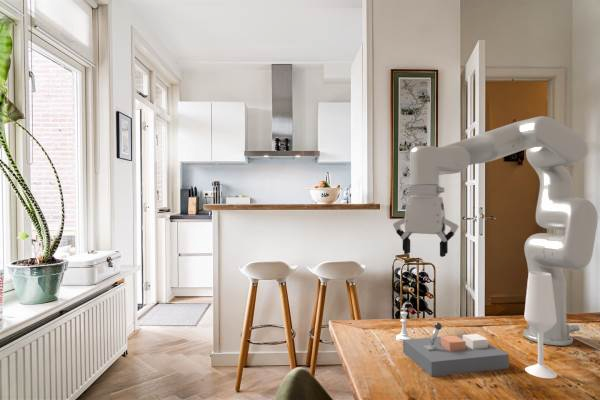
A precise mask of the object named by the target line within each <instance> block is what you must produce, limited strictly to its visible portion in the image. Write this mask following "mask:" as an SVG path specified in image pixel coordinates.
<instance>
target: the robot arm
mask: <svg viewBox="0 0 600 400" xmlns="http://www.w3.org/2000/svg"><path fill="white" fill-rule="evenodd" d="M525 150H526V151H525ZM521 151H525V155H526V159H527V161H528V163H529V165H531V167H532V168H533V170H534V171H535V172H536V174H537V176H538V178H539V191H538V198H537V203H536V209H535V222H536V224H537V225H538V226H540V227H541V228H543V229H548V230H557V231H564V234H560V233H550V232H548V233H547V232H543V233H542V232H539V233H535V234H532V235H529V237H528V238H527V239H526V240H525V243H524V246H523V247H524V248H523V250H524V256H525V259H526V265H527V272H528V273H529V272H545V273H550V274H551V276H552V285H553V293H554V301H555V310H556V318H557V322H556V324H555V325H554V326H553V327H552V328H551V329H550V330H548V331H547V332H544V333H543V345H550V346H569V345H572V344H573V342H574V338H573V337H572V335H570V334H571V333H572V332H573V333H574V332H579V331H580V330H581V329H580V326H579V325H578V324H571V325H570V324H568V323H567V281H566V277H565V274H564V272H563V270H562V269H567V270H573V271H581V270H583V269H585V268H587V267H588V265H589V264H590V263H591V260H592V257H593V252H594V248H595V241H596V236H597V235H596V234H597V228H598V223H599V222H598V219H599V216H598V212H597V208H596V206H595V205H594V203H593V202H591V200H588V199H586V198H582V197H573V193H574V180H573V178H572V176H571V174H570V172H569V171H568V169H567V168H566V166H575V165H577V164H580V163H583V161H584V160H585V159H586V158H587V156H588V154H589V146H588V143H587V141H586V140H585V138H584V137H583V136H581V134H579V133H578V132H576V131H574V130H573V129H571V128H570V127H568V126H566V125H565V124H563V123H562V122H559V121H558V120H556V119H553V118H551V117H548V116H546V115H545V116H543V115H540V116H535V117H531V118H527V119H523V120H519V121H514V122H512V123H510V124H506V125H503V126H500V127H497V128H493V129H491V130H488V131H485V132H482V133H479V134H477V135H476V134H475V135H473V136H470V137H468V138H466V139H465V138H464V139H462V140H459V141H456V142H454V143H449V144H447V145H444V146H437V147H436V146H432V145H421V146H415V147H412V148H411V149H410V151H409V197H407V198H406V199H407V200H406V205H405V210H404V211H405V213H404V217H403V218H401V219H400V220H398V221H396V222H394V223H393V225H392V226H393V227H394V230H395V232H396V234H397V235H398V236H399V237H400V239H401V240H402V251H403V253H404V255H408V254H410V253H411V239H410V236H411V235H413V234H423V235H424V234H426V235H437V236H438V237H439V239H440V240H441V241H440V242H439V257H441V258H443V257H446V254H448V253H449V252H448V251H449V249H448V246H449V245H448V243H449V242H448V241H450V239H452V238H453V237H454V236H455V234H456V232H457V230H458V228H459V224H457V223H455V222H454V221H451V220H449V219H447V218H446V213H445V212H446V211H445V205H444V199H443V197H442V196H440V194H442V193H445V187H442V186H440V176H442V175H452V174H458V173H461V172H464V171H466V170H467V168H468V167H469V166H470V165H477V164H478V165H479V164H483V163H484V164H485V163H489V162H492V161H493V162H494V161H496V160H498V159H502V158H504V157H507V156H510V155H513V154H515V153H518V152H521ZM402 225H404V230H402V228H401V226H402ZM446 226H448V227H450V230H449V232H448V233H446V232H445V231H446ZM522 333H523V336H524V337H525V338H526V339H528V340H530V341H532V342H536V343H538V332H537V331H535V330H534V329H533V328H532V327H531V326H530V325H529V324H528V328H525V329H523V332H522Z"/></svg>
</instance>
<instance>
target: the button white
mask: <svg viewBox="0 0 600 400" xmlns="http://www.w3.org/2000/svg"><path fill="white" fill-rule="evenodd" d="M462 335H463V340H464V341H466V346H468V347H470V348H472V349H479V348H488V343H489V339H488V338H486V337H484V336H483V335H480V334H479V333H468V335H465V334H462Z"/></svg>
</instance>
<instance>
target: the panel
mask: <svg viewBox="0 0 600 400" xmlns="http://www.w3.org/2000/svg"><path fill="white" fill-rule="evenodd" d="M468 334H469V333H468ZM468 334H456V335H453V336H457V337H459V338H461V339H462V340H463V335H468ZM441 337H445V335H444V336H437V337H436V340H435V342H434V345H433V346H430V345H429V341H430V339H431V337H420V338H412V339H407V340H403V342H402V349H403V350H402V352H403V354H405V356H407V357H408V359H410V360H412V361H413V362H414V363H415V364H416V365H418V367H420V368H421V369H422V370H423V371H424V372H425V373H427V374H428V375H430V377H441V376H451V375H458V374H459V375H460V374H468V373H477V372H478V373H479V372H488V371H496V370H504V369H510V367H509V366H510V363H509V362H510V359H509V358H510V357H509V356H510V355H509V353H507V352H506V351H504V350H501V349H500V348H498V347H496V346H494V345H493V344H490V343H489V342H488V348H479V349H472V348H470V347H468V346H466V350H458V351H449V350H447V349H446V348H444V347H443V346H441Z"/></svg>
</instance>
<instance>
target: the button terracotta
mask: <svg viewBox="0 0 600 400" xmlns="http://www.w3.org/2000/svg"><path fill="white" fill-rule="evenodd" d="M444 336H445V335H444ZM440 337H441V346H443V347H444V348H446V349H447V350H449V351H458V350H466V341H464V340H462V339H461V338H459V337H457V336H454V335H446V336H445V337H442V336H440Z"/></svg>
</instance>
